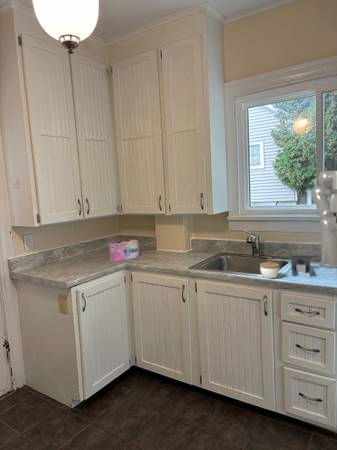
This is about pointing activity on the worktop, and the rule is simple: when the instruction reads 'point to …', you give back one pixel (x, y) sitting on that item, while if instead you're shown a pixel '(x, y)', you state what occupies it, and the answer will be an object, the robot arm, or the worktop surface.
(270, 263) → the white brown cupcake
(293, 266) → the coupler socket
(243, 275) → the worktop surface
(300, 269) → the lock block
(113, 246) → the gum box
